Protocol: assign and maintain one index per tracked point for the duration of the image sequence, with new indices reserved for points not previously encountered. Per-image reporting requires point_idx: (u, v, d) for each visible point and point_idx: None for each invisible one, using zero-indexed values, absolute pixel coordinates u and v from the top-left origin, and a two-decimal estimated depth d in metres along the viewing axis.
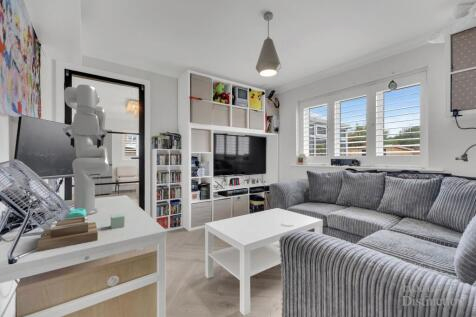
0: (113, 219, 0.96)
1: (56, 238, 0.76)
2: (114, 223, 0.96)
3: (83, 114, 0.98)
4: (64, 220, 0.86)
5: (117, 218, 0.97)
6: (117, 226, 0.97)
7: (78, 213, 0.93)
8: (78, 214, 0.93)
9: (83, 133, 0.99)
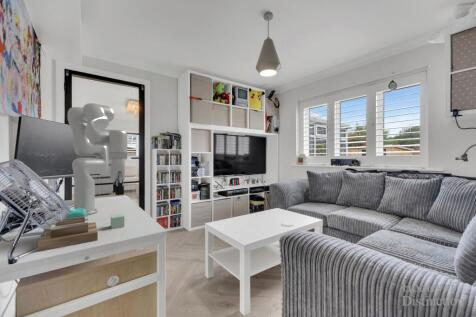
0: (113, 219, 0.96)
1: (56, 238, 0.76)
2: (114, 223, 0.96)
3: (124, 160, 0.99)
4: (64, 220, 0.86)
5: (117, 218, 0.97)
6: (117, 226, 0.97)
7: (78, 213, 0.93)
8: (78, 214, 0.93)
9: None
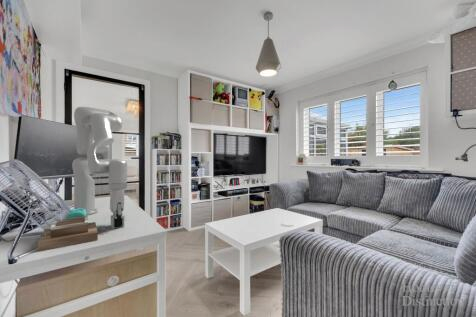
0: (113, 219, 0.96)
1: (56, 238, 0.76)
2: None
3: None
4: (64, 220, 0.86)
5: None
6: None
7: (78, 213, 0.93)
8: (78, 214, 0.93)
9: None
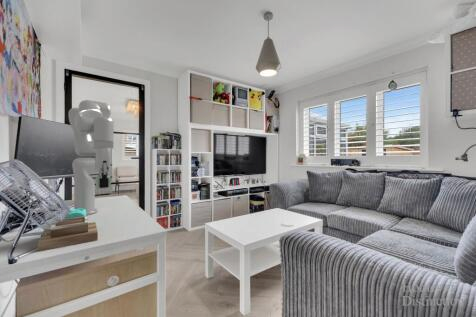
0: (98, 179, 0.90)
1: (56, 238, 0.76)
2: None
3: None
4: (64, 220, 0.86)
5: None
6: None
7: (78, 213, 0.93)
8: (78, 214, 0.93)
9: None
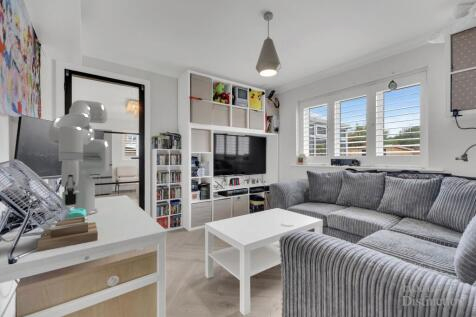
0: (64, 195, 0.81)
1: (56, 238, 0.76)
2: None
3: (79, 161, 0.84)
4: (64, 220, 0.86)
5: None
6: None
7: (78, 213, 0.93)
8: (78, 214, 0.93)
9: None
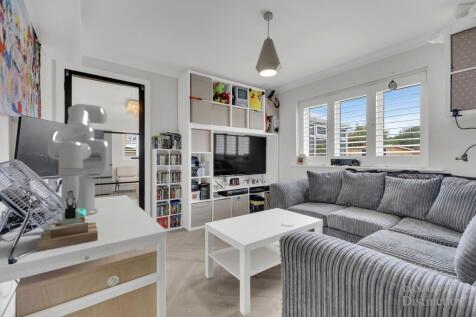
0: (64, 214, 0.81)
1: (56, 238, 0.76)
2: None
3: (79, 177, 0.84)
4: None
5: None
6: (70, 223, 0.82)
7: None
8: None
9: None
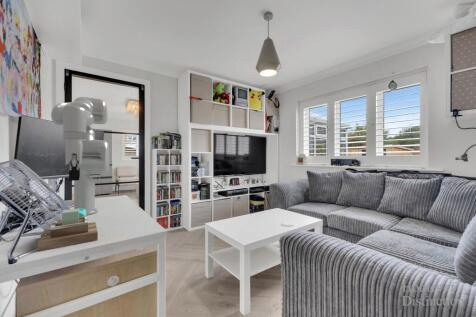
0: (64, 214, 0.81)
1: (56, 238, 0.76)
2: (66, 218, 0.81)
3: (82, 141, 0.86)
4: None
5: (69, 213, 0.82)
6: (70, 223, 0.82)
7: None
8: None
9: None
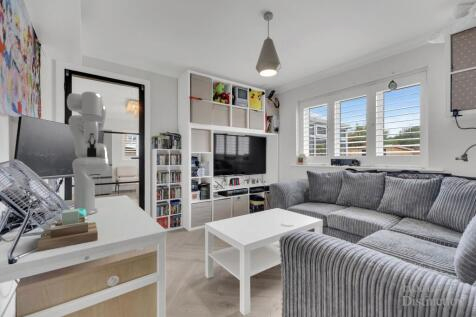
0: (64, 214, 0.81)
1: (56, 238, 0.76)
2: (66, 218, 0.81)
3: (98, 124, 0.98)
4: None
5: (69, 213, 0.82)
6: (70, 223, 0.82)
7: None
8: None
9: None
